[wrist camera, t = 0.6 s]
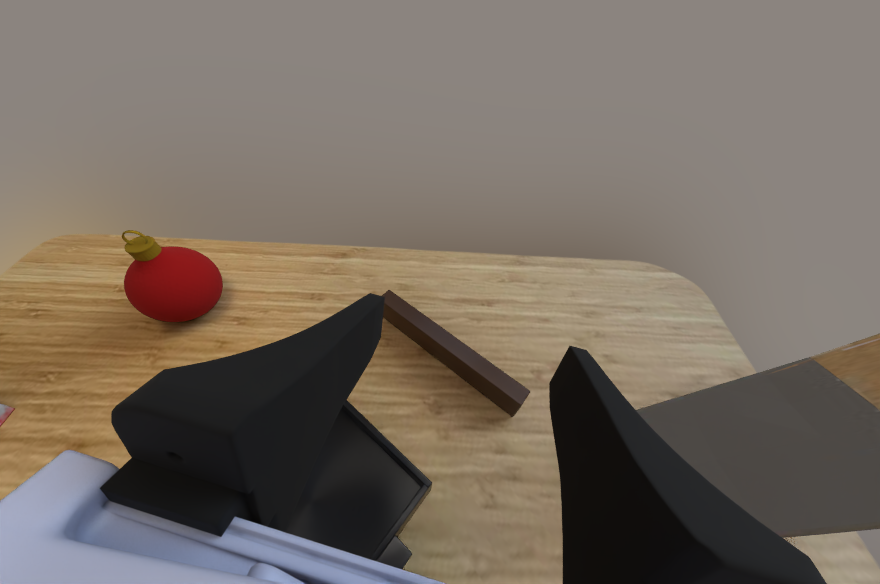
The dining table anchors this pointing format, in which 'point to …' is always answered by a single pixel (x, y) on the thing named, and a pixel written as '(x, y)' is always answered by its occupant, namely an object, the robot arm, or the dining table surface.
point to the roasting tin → (360, 493)
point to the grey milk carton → (4, 412)
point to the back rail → (455, 354)
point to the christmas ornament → (170, 280)
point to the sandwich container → (789, 440)
